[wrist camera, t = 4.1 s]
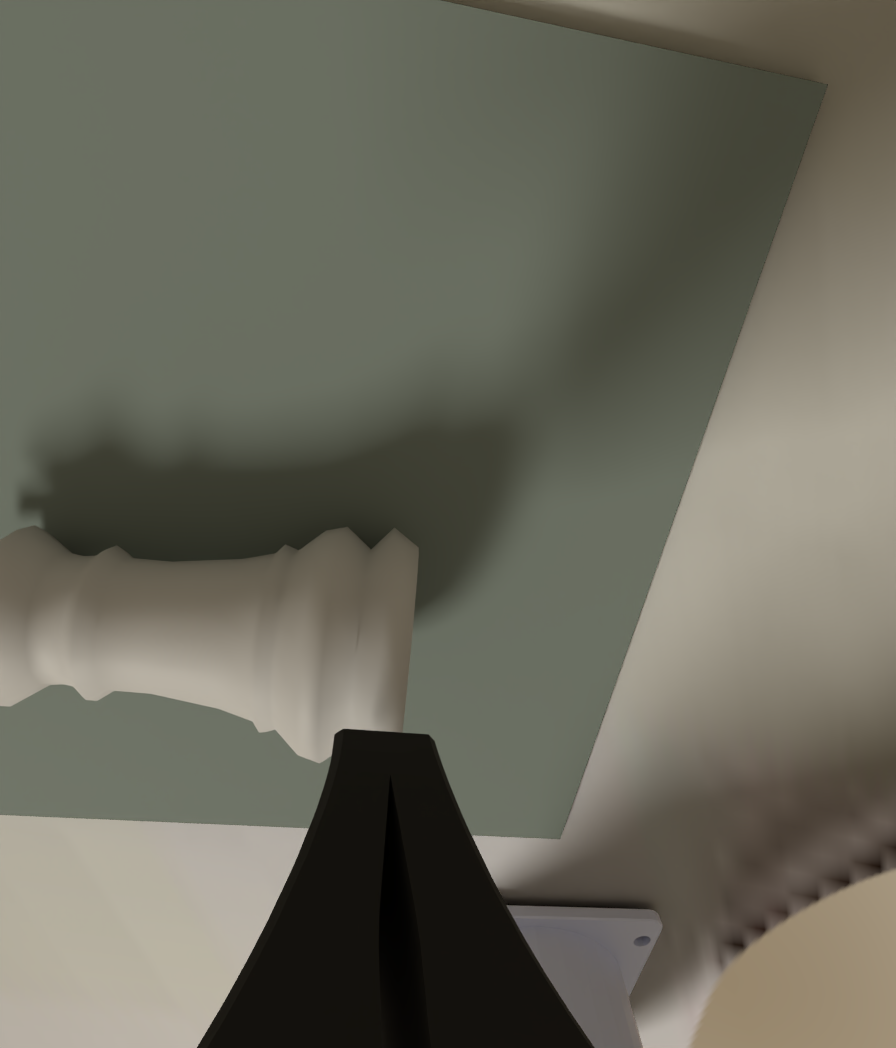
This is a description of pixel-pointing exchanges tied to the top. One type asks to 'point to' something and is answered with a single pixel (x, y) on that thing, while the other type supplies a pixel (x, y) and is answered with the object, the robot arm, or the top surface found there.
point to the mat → (368, 353)
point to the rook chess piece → (219, 630)
